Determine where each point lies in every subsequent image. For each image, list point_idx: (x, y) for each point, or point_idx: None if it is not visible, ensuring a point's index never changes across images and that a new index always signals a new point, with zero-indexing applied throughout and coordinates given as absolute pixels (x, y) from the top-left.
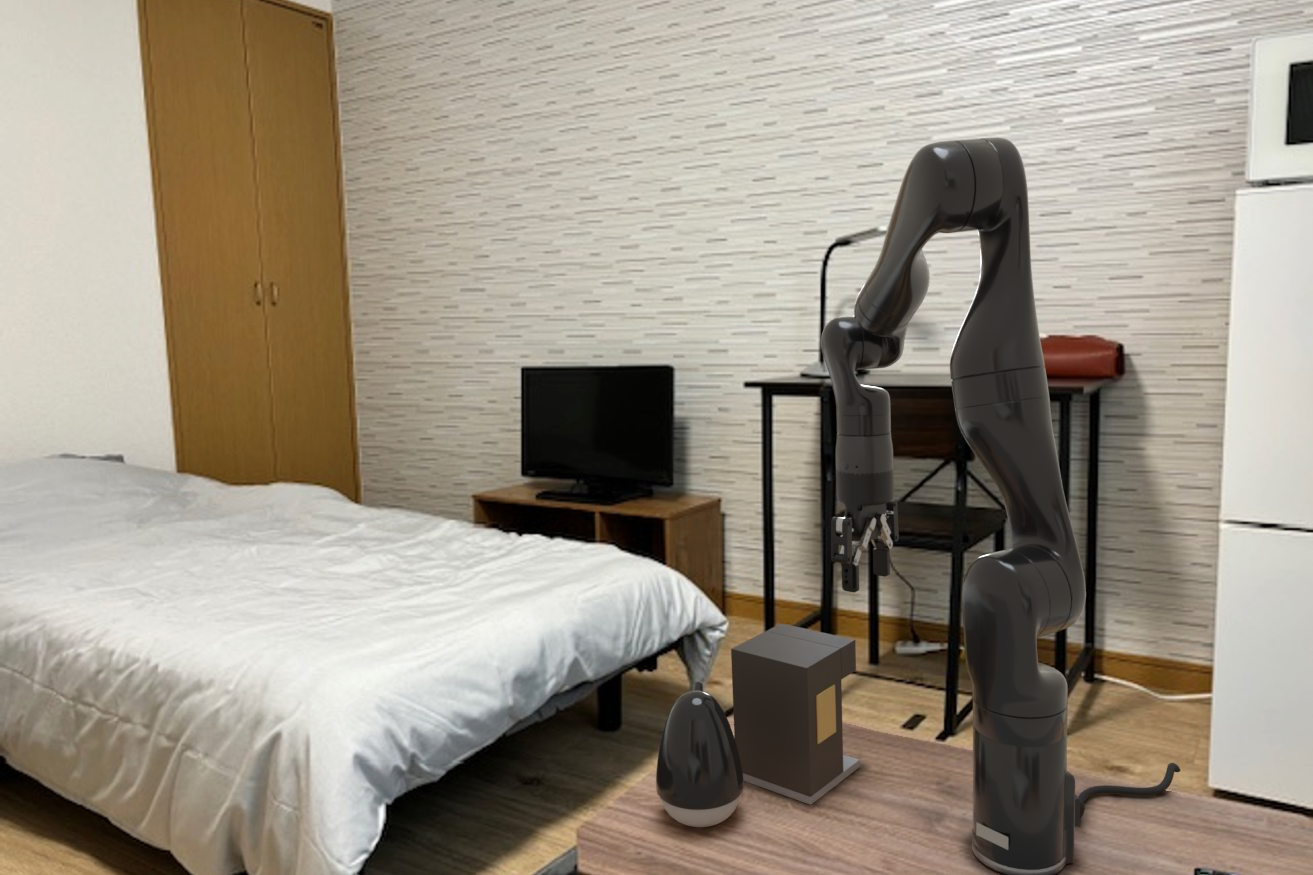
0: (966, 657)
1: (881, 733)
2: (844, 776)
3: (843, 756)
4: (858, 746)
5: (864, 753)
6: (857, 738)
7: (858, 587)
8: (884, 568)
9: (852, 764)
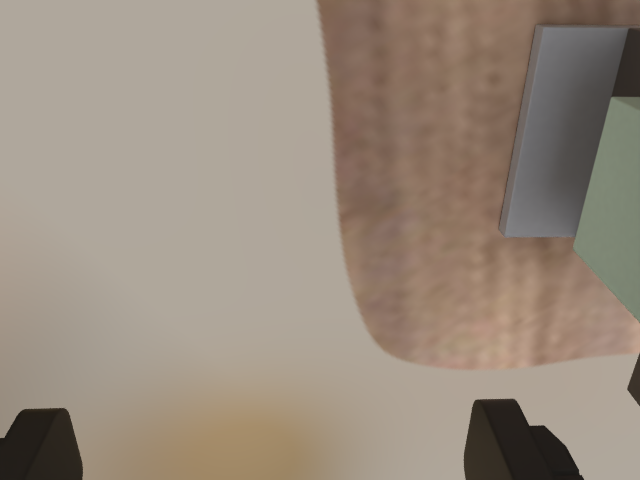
0: None
1: (327, 72)
2: (617, 25)
3: (546, 72)
4: (429, 85)
5: (458, 52)
6: (388, 110)
7: (498, 412)
8: (47, 463)
9: (578, 29)
